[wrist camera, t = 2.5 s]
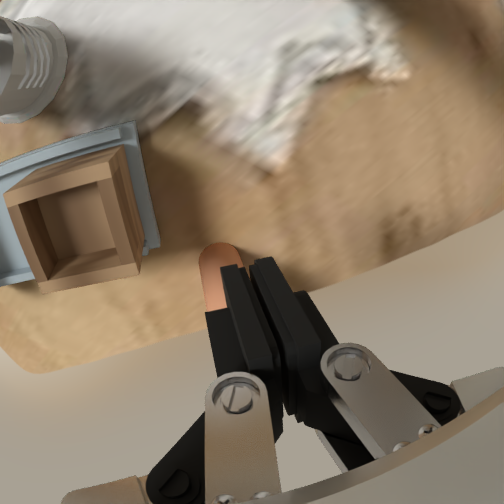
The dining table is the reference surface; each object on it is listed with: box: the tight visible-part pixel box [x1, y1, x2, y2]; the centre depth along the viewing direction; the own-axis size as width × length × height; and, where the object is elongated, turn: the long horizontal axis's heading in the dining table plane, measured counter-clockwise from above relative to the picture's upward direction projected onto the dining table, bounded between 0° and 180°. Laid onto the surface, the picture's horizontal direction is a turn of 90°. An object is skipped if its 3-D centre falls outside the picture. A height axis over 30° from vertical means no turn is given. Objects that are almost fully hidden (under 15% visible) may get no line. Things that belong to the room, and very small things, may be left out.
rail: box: [0, 120, 161, 287], centre depth 22 cm, size 20×11×6 cm, turn 96°
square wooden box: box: [3, 144, 145, 294], centre depth 21 cm, size 8×8×6 cm
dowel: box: [199, 243, 244, 312], centre depth 26 cm, size 4×4×12 cm
